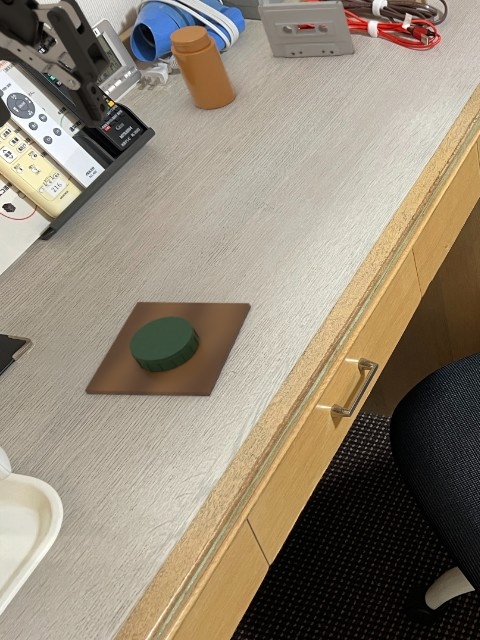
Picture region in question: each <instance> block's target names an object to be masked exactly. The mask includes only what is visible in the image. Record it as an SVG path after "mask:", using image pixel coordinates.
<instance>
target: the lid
mask: <svg viewBox="0 0 480 640" xmlns="http://www.w3.org/2000/svg"><path fill="white" fill-rule="evenodd" d="M198 337H199V336H198V334H197V333H196V331H195V329H194V328H193V327H192V325H191V324H190V323H189V322H188V321H187V320H186V319H183V318H181V317H173V316H172V317H163V318H159V319H156V320H153V321H151V322H149V323H147V324H146V325H144V326H143V327H141V328H140V329H139V330H138V331H137V332H136V333H135V334H134V335H133V337H132V339H131V341H130V351H131V354H132V356H133V357H134V359H135V360H136V362H138V364H139V365H140V367H141V368H144V369H146V370H149V371H153V372H161V371H167V370H171V369H174V368H176V367H178V366H180V365H182V364H184V363H185V362H187V361H188V360H189V359H190V358H191V357H192V356H193V355H194V354H195V352H196V350H197V348H198V345H199V339H198Z"/></svg>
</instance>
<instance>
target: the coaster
mask: <svg viewBox="0 0 480 640" xmlns="http://www.w3.org/2000/svg"><path fill="white" fill-rule="evenodd" d="M250 309H251V304H250V303H249V302H177V301H176V302H175V301H173V302H172V301H171V302H170V301H169V302H168V301H161V302H160V301H137V302H136V304H135V305H134V307H133V309H132V310H131V312H130V314H129V315H128V317H127V318H126V320H125V322H124V324H123V325H122V327H121V329H120V331H119V332H118V333H117V335H116V337H115V338H114V340H113V342H112V344H111V345H110V347H109V349H108V350H107V352H106V354H105V356H104V357H103V359H102V360H101V362H100V364H99V366H98V367H97V369H96V371H95V372H94V374H93V375H92V377H91V379H90V380H89V383H88V384H87V386H86V387H85V389H84V392H85V393H86V394H89V395H91V394H92V395H98V394H99V395H143V396H144V395H150V396H152V395H153V396H207V397H208V396H211V393H212V392H213V389H214V387H215V384H216V383H217V380H218V378H219V376H220V374H221V371H222V370H223V367H224V366H225V363H226V362H227V359H228V357H229V354H230V352H231V349H233V345H234V343H235V341H236V339H237V337H238V335H239V333H240V330H241V328H242V326H243V324H244V322H245V319H246V317H247V316H248V313H249V311H250ZM172 316H173V317H181V318H183V319H186V320H187V321H188V322H189V323H190V324H191V325H192V327H193V328H194V329H195V331H196V333H197V334H198V336H199V337H198V339H199V345H198V348H197V350H196V352H195V354H194V355H193V356H192V357H191V358H190V359H189V360H188V361H187V362H185V363H184V364H182V365H180V366H178V367H176V368H174V369H171V370H167V371H161V372H153V371H149V370H146V369H144V368H141V367H140V365H139V364H138V362H136V360H135V359H134V357H133V356H132V354H131V351H130V341H131V339H132V337H133V335H134V334H135V333H136V332H137V331H138V330H139V329H140V328H141V327H143V326H144V325H146V324H147V323H149V322H151V321H153V320H156V319H159V318H163V317H172Z"/></svg>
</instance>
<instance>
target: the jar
mask: <svg viewBox="0 0 480 640" xmlns="http://www.w3.org/2000/svg"><path fill="white" fill-rule="evenodd" d="M169 39H170V44H171V46H170V51H171V54H172V56H173V59H174V61H175V64H176V65H177V67H178V71H179V72H180V75H181V76H182V79H183V81H184V84H185V86H186V88H187V90H188V93H189V95H190V98H191V100H192V102H193V104H194V106H195V107H197V108H198V109H202V110H215V109H219V108H222V107H225V106H227V105H229V104H230V103H232V102H233V101H234V100H235V98H236V95H237V94H236V91H235V89H234V86H233V83H232V80H231V78H230V76H229V72H228V71H227V68H226V64H225V63H224V61H223V58H222V55H221V51H220V49H219V46H218V44H217V42H216V39H215V38H214V37H213V36H211V35H210V34H209V32H208V30H207V28H205V27H204V26H201V25H187V26H183V27H181V28H178V29H176V30H174V31H173V32H172V33H171V34H170V36H169Z"/></svg>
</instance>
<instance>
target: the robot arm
mask: <svg viewBox="0 0 480 640" xmlns="http://www.w3.org/2000/svg"><path fill="white" fill-rule="evenodd" d="M48 26H49V27H48ZM41 43H42V44H43V45H45V46H46V47H47V49H48V51H47V52H46V53H43V52H39V51H38V50H39V49H40V48H41ZM2 61H4V62H9V63H14V64H24V63H26V64H27V65H29V66H30V67H32V68H33V69H34V70H36V72H39V73H42V74H45V73H46V74H49V75H50V76H51V77H53V78H54V79H56V80H57V81H58V82H60V83H61V84H63V86H66V88H68V89H67V91H66V92H67V93H68V95H69V97H70V99H71V101H72V102H73V104H74V106H75V107H76V109H77V110H78V113H79V115H80V117H81V119H82V120H83V122H84V124H85V125H86V127H87V128H91V129H93V128H96V129H97V128H100V127H101V125H102V124H103V123H104V122H105V120H106V119H107V118H108V117H107V116H108V113H109V112H110V111H109V105H108V103H107V101H106V100H105V98H104V96H103V94H102V92H101V90H100V88H99V86H98V85H97V82H98V81H99V79H100V78H101V77H102V76H103V75H104V74H105V73H106V71H107V70H108V69H109V68H110V67H111V64H112V63H111V60H110V58H109V57H108V54H107V53H106V51H105V49H104V48H103V46H102V43H100V40H99V38H98V37H97V35H96V33H95V31H94V30H93V28H92V26H91V24H90V22H89V21H88V19H87V17H86V15H85V13H84V12H83V10H82V8H81V7H80V5H79V3H78V2H77V0H59V1H58V2H56V3H55V2H54V3H39V1H37V0H0V62H2ZM63 64H64V65H63ZM67 67H68V68H67ZM11 118H12V112H11V111H10V109H9V107H8V106H7V104H6V103H5V100H4V99H3V98H2V95H0V129H1V128H3V127H4V126H5V125H6V124H7V123H8V122H9V121H10V119H11Z"/></svg>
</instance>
